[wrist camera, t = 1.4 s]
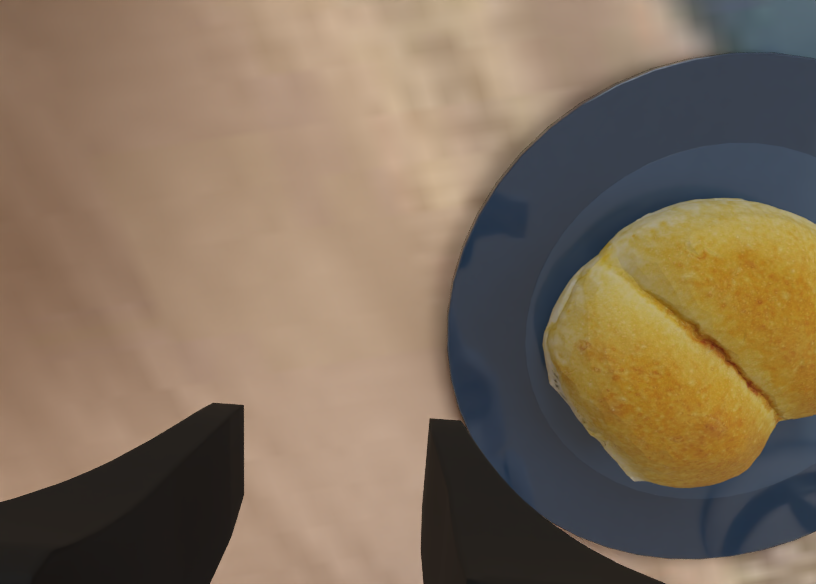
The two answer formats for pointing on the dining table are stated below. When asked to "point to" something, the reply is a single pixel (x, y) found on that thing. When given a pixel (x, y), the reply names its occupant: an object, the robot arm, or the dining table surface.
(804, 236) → the bread roll
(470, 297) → the plate
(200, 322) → the dining table surface
